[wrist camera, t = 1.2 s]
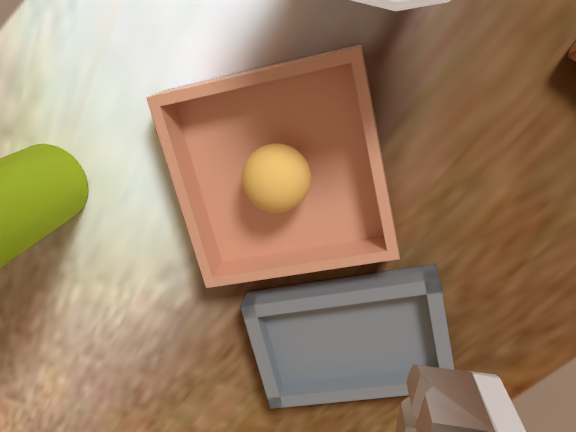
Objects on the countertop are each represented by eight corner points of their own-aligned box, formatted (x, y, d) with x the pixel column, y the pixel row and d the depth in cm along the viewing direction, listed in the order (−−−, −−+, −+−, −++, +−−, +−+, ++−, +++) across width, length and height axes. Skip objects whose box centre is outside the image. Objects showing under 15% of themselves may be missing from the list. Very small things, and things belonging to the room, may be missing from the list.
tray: (436, 264, 39) (439, 278, 36) (453, 370, 41) (457, 390, 39) (247, 291, 42) (240, 307, 39) (275, 389, 44) (270, 408, 42)
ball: (306, 130, 36) (297, 146, 32) (320, 193, 37) (314, 216, 33) (242, 143, 37) (226, 160, 33) (258, 204, 38) (245, 228, 34)
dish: (361, 43, 34) (360, 47, 31) (397, 239, 38) (399, 258, 35) (164, 90, 37) (146, 97, 34) (217, 267, 41) (206, 288, 38)
